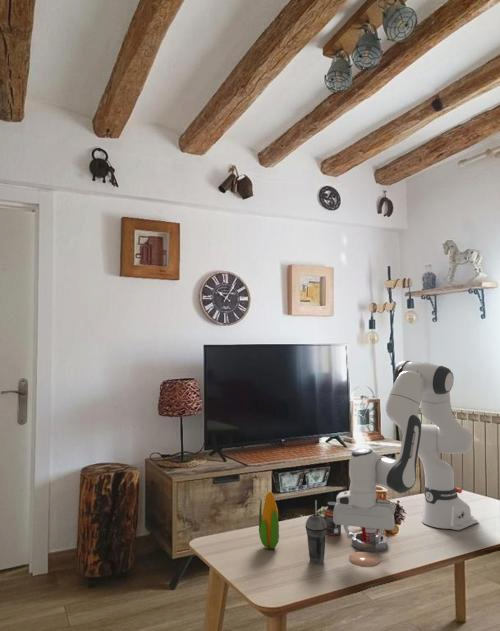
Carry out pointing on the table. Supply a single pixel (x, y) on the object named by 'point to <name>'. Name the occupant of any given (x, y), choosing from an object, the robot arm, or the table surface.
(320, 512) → the fruit
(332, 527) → the supplement bottle
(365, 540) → the soda can
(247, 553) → the table surface
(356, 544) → the collar
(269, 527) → the corn
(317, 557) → the beverage cup
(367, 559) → the peach dome
